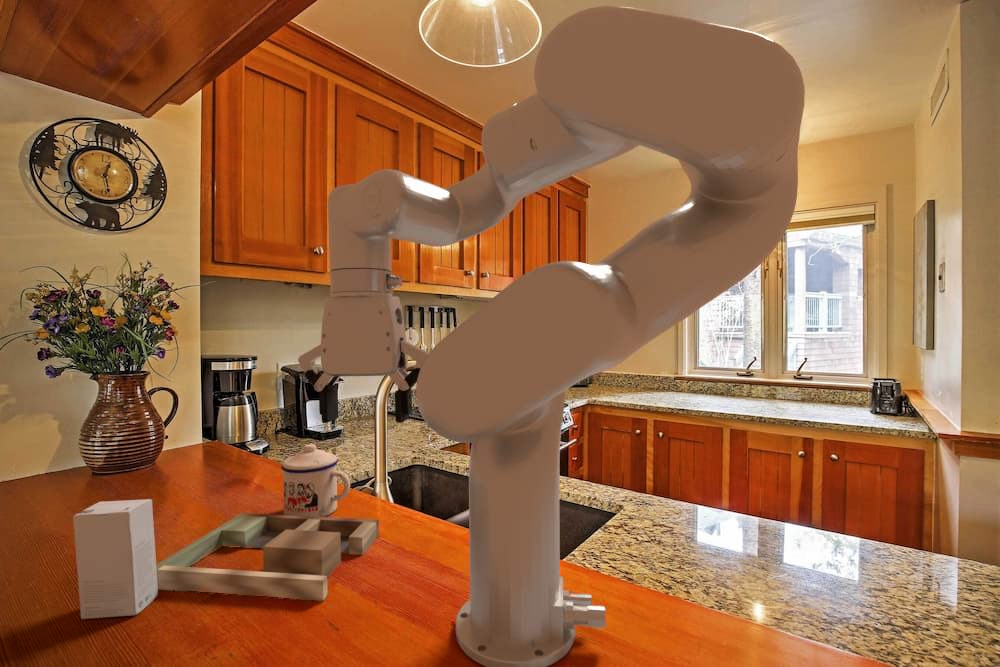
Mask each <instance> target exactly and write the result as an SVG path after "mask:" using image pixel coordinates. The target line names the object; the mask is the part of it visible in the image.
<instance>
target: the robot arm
mask: <svg viewBox="0 0 1000 667" xmlns="http://www.w3.org/2000/svg"><path fill="white" fill-rule="evenodd" d="M534 63H535V64H534V70H533V78H534V84H535V87H536V92H535V93H533V94H532V95H529V96H527V97H526V98H524V99H522V100H520V101H519V102H517V103H515V104H513V105H511V106H509V107H507V108H506V109H503V110H502V111H500V112H498V113H496V114H494V115H492V116H491V117H489V119H487V120H486V122H485V123H484V125H483V128H482V130H481V150H482V154H483V159H484V164H483V165H482V166H481V167H480V168H479V169H478V170H477V171H475V173H473V174H471V175H470V176H468V177H466V178H464V179H461V180H460V181H457V182H455V183H454V184H451V185H449V186H446V187H444V188H443V187H440V186H438V185H435V184H433V183H432V182H428V181H426V180H424V179H421V178H418V177H415V176H412V175H410V174H408V173H405V172H402V171H400V170H397V169H391V168H386V169H380V170H376V171H374V172H372V173H371V174H369V175H367V176H365V177H364V178H363V179H361V180H359V181H358V182H356V183H353V184H343V185H338V186H336V187H334V188H333V189H331V191H330V192H329V193H328V198H327V223H328V224H327V226H328V254H329V279H330V282H329V284H330V287H329V288H330V297H326V299H325V303H324V308H323V314H322V322H321V333H320V344H318V345H316V346H315V347H313V348H312V349H310V350H308V351H306V352H305V353H303V354H301V355H300V356H298V358H297V361H298V363H299V365H300V367H301V370H302V371H303V373H304V377H305V378H306V379H307V380H308V381H309V383H311V384H312V385H313V388H314V390H315V391H316V392H318V407H319V409H318V410H319V415H320V416H321V423H322V424H328V423H331V422H332V421H335V420H337V419H338V418H339V394H338V392H339V391H338V389H337V388H334V386H335V384H336V383H337V382H338V381H339V380H340V378H341V377H377V376H378V377H380V376H382V377H383V376H388V377H389V378H390V379H391V380H392V382H393V383H394V384H395V385H396V386H397V390H395V392H394V412H395V415H394V416H395V422H396V423H398V424H402V423H404V422H406V421H407V420H408V419H409V418H410V416H411V415H412V413H413V396H412V395H413V393H412V392H413V391H412V388H414V387H415V385H416V387H415V394H416V395H415V396H416V397H415V398H416V404H417V408H418V411H419V413H420V415H421V417H422V419H423V420H424V422H425V423H426V425H427V426H428V427H429V428H430V429H431V430H432V431H434V432H435V433H436V434H437V435H439V436H440V437H442V438H445V439H446V440H449V441H452V442H456V443H460V444H461V443H463V444H471V446H470V447H471V448H470V453H469V466H468V516H469V517H468V521H469V524H468V525H469V526H468V529H469V530H468V532H469V534H468V535H469V536H468V537H469V600H467V601H466V602H465V603H464V605H462V606H461V608H460V609H459V611H458V613H457V615H456V619H455V635H456V641H457V643H458V644H459V648H460V649H461V650H462V651H463V652H464V653H465V655H467V656H468V657H469V658H470V659H472V660H473V661H474V662H476V663H478V664H479V665H481V666H484V667H549V666H551V665H553V664H556V663H557V662H558V661H559V660H561V659H562V658H563V657H565V656H566V655H567V653H569V651H570V650H571V648H572V646H573V644H574V641H575V637H576V626H585V627H589V628H601V629H606V626H607V623H606V620H607V619H606V617H607V616H606V608H605V605H595V604H592V593H570V590H565V589H564V578H563V576H561V566H560V565H561V564H560V563H561V562H560V561H561V560H560V558H561V554H560V553H561V549H560V548H561V547H560V546H561V543H560V542H561V541H560V536H561V534H560V532H561V530H560V519H561V518H560V487H561V486H560V483H561V482H560V480H561V479H560V471H561V470H560V469H561V468H560V467H561V466H560V465H561V464H560V457H561V455H560V454H561V438H562V437H561V436H562V426H563V420H564V419H563V418H564V410H565V403H566V393H567V392H566V391H567V390H568V389H569V388H571V387H573V386H574V385H577V384H578V383H579V382H581V381H583V380H585V379H586V378H589V377H592V376H593V375H596V374H600V373H602V372H605V371H607V370H610V369H613V368H615V367H617V366H619V365H620V364H622V363H623V362H624V361H626V360H627V359H629V358H630V357H631V356H632V355H633V354H635V353H636V352H637V351H638V350H640V349H641V348H643V347H644V346H645V345H647V344H648V343H650V342H651V341H653V340H654V339H657V337H658V336H660V335H662V334H664V333H665V332H666V331H668V330H670V329H671V328H673V327H674V326H676V325H678V324H679V323H681V322H682V321H684V320H686V319H687V318H689V317H690V316H691V315H693V314H694V313H695V312H697V311H698V310H700V309H701V308H702V307H704V306H705V305H706V304H709V303H710V302H712V301H713V300H715V299H716V298H718V297H719V296H721V295H722V294H723V293H725V292H727V291H728V290H729V289H731V288H733V287H734V286H735V285H736V284H738V283H740V282H741V281H742V280H743V279H745V278H746V277H748V275H751V273H753V272H754V271H755V270H756V269H757V268H758V267H759V266H760V265H762V264H763V262H764V261H765V260H767V259H768V258H769V256H770V255H771V254H772V252H773V251H774V250H776V247H778V245H779V243H780V242H781V240H782V239H783V237H784V235H785V233H786V231H787V230H788V228H789V226H790V223H791V221H792V218H793V216H794V213H795V210H796V205H797V198H798V188H799V186H798V185H799V182H798V181H799V165H798V162H799V161H798V157H799V156H798V153H799V152H798V149H799V148H798V147H799V143H800V137H801V136H800V135H801V132H800V131H801V124H802V120H803V113H804V108H805V94H806V92H805V91H806V90H805V83H804V78H803V75H802V70H801V69H800V66H799V65H798V63H797V62H796V60H795V58H794V57H793V55H792V54H791V53H789V51H787V49H785V48H784V46H782V45H781V44H780V43H777V42H776V41H774V40H772V39H770V38H769V37H766V36H765V35H762V34H759V33H757V32H754V31H750V30H747V29H746V30H745V29H742V28H738V27H733V26H727V25H722V24H717V23H713V22H707V21H703V20H702V21H701V20H697V19H692V18H686V17H682V16H678V15H674V14H673V15H672V14H668V13H662V12H657V11H651V10H646V9H641V8H635V7H628V6H617V5H616V6H613V5H611V6H609V5H602V6H596V7H595V6H594V7H589V8H586V9H585V8H584V9H582V10H580V11H579V10H578V11H577V12H575V13H574V14H572V15H570V16H568V17H566V18H565V19H563V20H561V21H560V22H559V23H558V24H557V25H556V26H555V27H554V28H553V29H552V30H551V31H550V32H549V33H548V34H547V36H546V37H545V38H544V41H542V43H541V46H540V48H539V50H538V53H537V55H536V60H535V62H534ZM639 146H641V147H644V148H647V149H649V150H653V151H656V152H658V153H661V154H663V155H666V156H668V157H671V158H673V159H676V160H678V162H679V165H680V166H681V167H682V170H683V171H684V173H685V174H686V176H687V178H688V179H689V182H690V186H691V189H690V193H689V196H687V198H686V199H685V201H684V202H683V203H682V204H680V205H679V206H678V207H677V208H675V209H674V210H671V211H670V212H668V213H666V214H664V215H663V216H661V217H659V218H658V219H656V220H654V221H652V222H651V223H650V224H648V225H647V226H645V227H644V228H643V229H641V230H640V231H639V232H638V233H636V234H635V235H634V236H632V238H630V239H629V240H628V241H626V242H625V243H623V245H622V246H619V247H618V248H617V249H616V250H614V251H612V253H610V254H609V255H607V256H606V257H604V258H603V259H601V260H599V261H598V262H595V263H593V264H589V263H584V262H580V261H571V260H569V261H567V260H565V261H564V260H561V261H553V262H550V263H547V264H544V265H541V266H539V267H536V268H534V269H531V270H530V271H528V272H526V273H524V274H522V275H520V277H518V278H516V279H515V280H513V282H511V283H509V285H507V286H506V287H505V288H504V289H502V290H501V291H499V292H498V293H497V294H496V295H495V296H494V297H492V298H491V299H490V300H488V301H487V302H485V303H484V305H483V306H481V307H480V308H478V310H476V311H475V312H474V313H472V314H471V315H470V316H469V317H467V318H466V319H464V321H463V322H462V323H460V324H459V325H458V326H457V327H456V328H454V329H453V330H452V331H450V332H449V333H448V334H447V335H446V336H445V337H443V338H442V339H441V340H440V341H439V342H438V343H436V344H435V346H434V347H433V348H432V349H431V350H430V352H429V351H426V350H424V349H422V348H421V347H420V348H419V347H418V346H416V345H414V344H412V343H409V342H408V341H407V335H406V334H407V333H406V327H405V320H404V314H403V308H402V304H401V301H400V297H399V296H395V295H394V296H393V293H394V292H395V288H399V287H402V286H403V277H402V276H401V275H394V272H392V271H393V270H392V247H391V246H392V244H391V239H394V240H399V241H404V242H411V243H415V244H419V245H424V246H428V247H437V248H439V247H446V246H451V245H455V244H457V243H461V242H462V241H464V240H467V239H470V238H472V237H475V236H477V235H479V234H482V233H484V232H486V231H488V230H490V229H492V228H494V227H495V226H498V224H499V223H500V222H502V221H503V220H504V219H506V217H508V215H509V214H510V213H511V212H512V211H513V210H514V209H515V208H516V207H517V206H518V204H519V203H520V201H521V200H523V199H524V198H526V197H528V196H530V195H532V194H535V193H537V192H538V191H540V190H544V189H545V188H549V187H550V186H552V185H554V184H557V183H559V182H561V181H564V180H566V179H568V178H570V177H573V176H576V175H577V174H580V173H582V172H584V171H588V170H589V169H593V168H595V167H596V166H598V165H601V164H604V163H606V162H609V161H610V160H612V159H615V158H618V157H620V156H622V155H624V154H626V153H628V152H630V151H632V150H634V149H635V148H637V147H639ZM409 357H411V358H413V359H414V360H415V366H414V367H413V369H412V370H411V371H410V372H407V371H406V370H407V367H408V364H409V363H408V362H409ZM318 359H320V364H321V365H320V366H321V370H322V372H323V373H322V372H321V371H320V370H319V369H318V368H317V365H316V361H317V360H318Z"/></svg>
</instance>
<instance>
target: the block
mask: <svg viewBox="0 0 1000 667" xmlns="http://www.w3.org/2000/svg"><path fill="white" fill-rule="evenodd" d="M262 559H263V562H262V563H263V572H274V573H289V574H305V575H320V576H327V577H328V576H329V575H330V574H331V573H332V571H333V570H334V569H335V568H336V567H337V566H338V567H340V565H341V564H342V554H341V535H340V532H323V531H304V530H285V531H283V532H282V533H281V534H279V535H278V536H277V537H275V538H274V539H273V540H271V541H270V542H269V543H267V544H266V545H265V546H263V549H262ZM340 563H341V564H340ZM339 564H340V565H339ZM332 574H333V573H332ZM332 574H331V575H332ZM331 575H330V576H331ZM330 576H329V577H330ZM329 577H328V578H329Z"/></svg>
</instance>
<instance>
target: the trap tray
mask: <svg viewBox="0 0 1000 667" xmlns="http://www.w3.org/2000/svg"><path fill="white" fill-rule="evenodd" d="M379 521H380V520H379V519H377V518H376V519H375V518H374V519H370V518H353V517H352V518H351V517H334V516H333V517H331V516H330V517H329V516H325V517H313V516H292V515H284V514H267V513H266V514H265V513H263V514H262V513H251V512H250V513H247V512H245V513H244V512H241V513H240V514H238V515H236V516H234V517H233V518H231V519H230V520H228V521H226V522H225V523H222V524H221V525H220V526H218V527H216V528H214V529H213V530H211V531H209V532H208V533H206V534H205V535H203V536H201V537H199V538H198V539H196V540H195V541H192V542H191V543H190V544H188V545H186V546H185V547H183V548H181V549H180V550H177V551H176V552H175V553H173V554H171V555H169V556H168V557H166V558H165V559H163V560H161V561H160V562H158V563H156V569H157V586H158V591H159V590H160V591H161V590H162V591H173V590H175V592H187V591H210V592H218V593H229V594H231V593H232V594H240V595H239V596H242V595H260V596H261V595H262V596H271V597H272V596H273V597H279V598H278V599H283V598H290V599H289V600H297V599H298V600H299V599H300V600H301V601H311V600H319V601H318V602H323V601H322V600H324V599H325V598H326V597H327V595H328V578H327V576H320V575H305V574H289V573H274V572H264V571H260V570H259V571H257V570H255V571H254V570H241V569H226V568H210V567H209V568H208V567H196V566H195V567H194V566H192V567H189V566H191V565H193V564H194V563H196V562H197V561H199V560H200V559H202V558H203V557H204V556H206V555H207V554H209V553H211V552H212V551H214V550H215V549H217V548H219V547H220V546H221V545H227V546H240V547H252V548H263V546H265V545H266V544H267V543H269V542H270V541H271V540H273V539H274V538H275V537H277V536H278V535H279V534H281V533H282V532H283V531H285V530H304V531H323V532H340V535H341V555H356V556H357V555H358V556H363V555H364V554H365V553H366V552H367V551H368V549H369V548H370V547H371V546H372V545H373V543H375V541H376V540H377V539H378V537H379V536H380V522H379ZM219 549H220V548H219ZM178 590H179V591H178ZM241 594H242V595H241ZM280 597H281V598H280ZM327 598H328V597H327ZM327 598H326V599H327ZM326 599H325V600H326ZM300 600H299V601H300ZM325 600H324V601H325Z"/></svg>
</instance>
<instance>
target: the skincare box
mask: <svg viewBox="0 0 1000 667" xmlns="http://www.w3.org/2000/svg"><path fill="white" fill-rule="evenodd" d="M153 510H154V509H153V499H151V498H150V499H149V498H148V499H131V500H130V499H129V500H127V499H126V500H113V501H111V500H109V501H108V500H107V501H98V502H97V503H94V504H93V505H91V506H89V507H87V508H84V509H83V510H81V511H80V512H77V513H76V514H74V515H73V516H72V522H73V531H74V534H73V535H74V544H75V556H76V559H75V560H76V570H77V571H76V572H77V585H78V595H79V596H78V597H79V610H80V612H79V613H80V618H81V620H86V619H100V618H101V619H102V618H103V619H104V618H114V617H129V616H136V615H138V614H139V613H141V612H142V611H143V610H144V609H145V608H146V607H148V606H149V605H150V604H151V603H152V602H153V601H154V600H155V599H156V598H157V597H158V596H159V589H158V586H157V569H156V564H157V558H156V557H157V556H156V542H155V527H154V514H153V513H154V512H153Z"/></svg>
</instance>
